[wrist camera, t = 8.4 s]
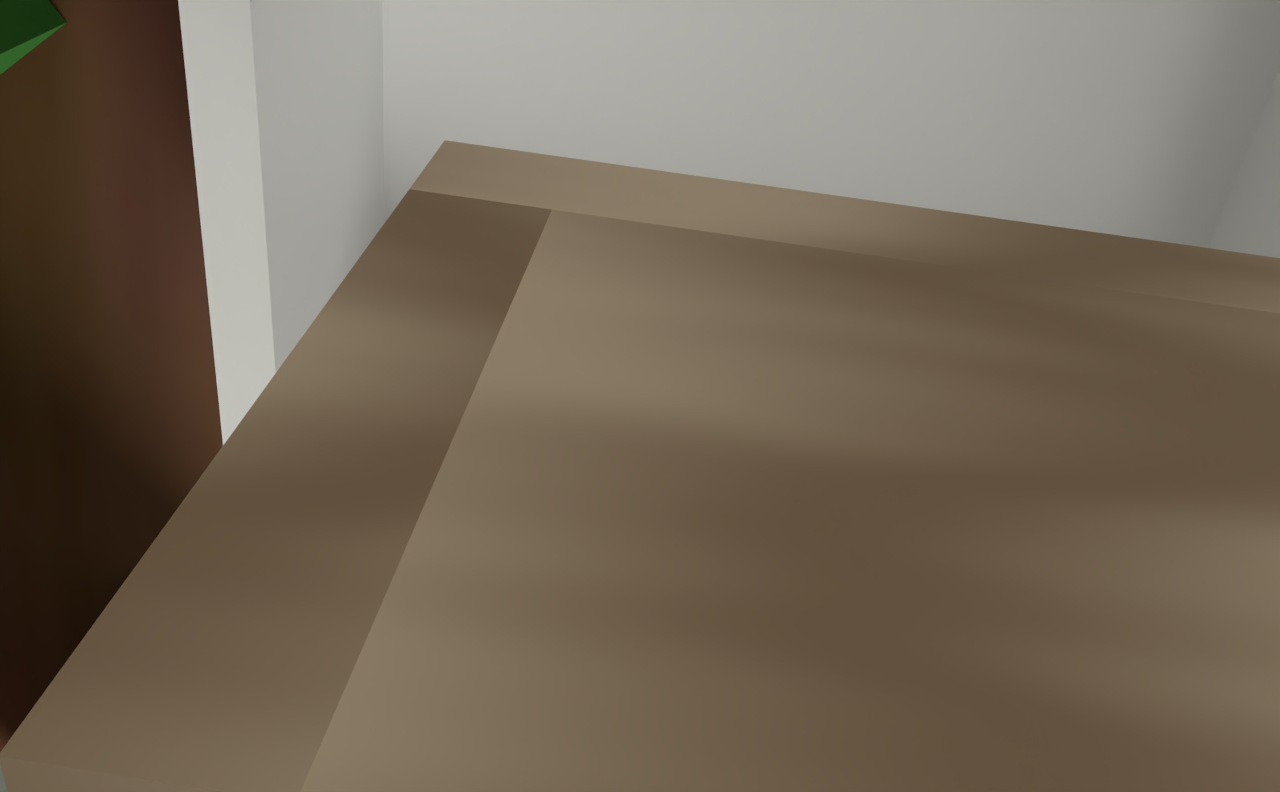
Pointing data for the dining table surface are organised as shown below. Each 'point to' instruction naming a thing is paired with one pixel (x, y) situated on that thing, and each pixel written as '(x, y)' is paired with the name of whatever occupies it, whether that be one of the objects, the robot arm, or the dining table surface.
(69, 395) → the dining table surface
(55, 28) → the hardback book
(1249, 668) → the small wooden crate
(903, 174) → the grey plastic crate
